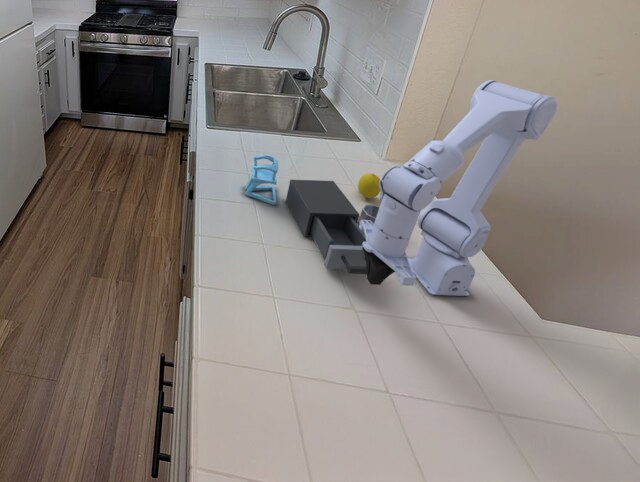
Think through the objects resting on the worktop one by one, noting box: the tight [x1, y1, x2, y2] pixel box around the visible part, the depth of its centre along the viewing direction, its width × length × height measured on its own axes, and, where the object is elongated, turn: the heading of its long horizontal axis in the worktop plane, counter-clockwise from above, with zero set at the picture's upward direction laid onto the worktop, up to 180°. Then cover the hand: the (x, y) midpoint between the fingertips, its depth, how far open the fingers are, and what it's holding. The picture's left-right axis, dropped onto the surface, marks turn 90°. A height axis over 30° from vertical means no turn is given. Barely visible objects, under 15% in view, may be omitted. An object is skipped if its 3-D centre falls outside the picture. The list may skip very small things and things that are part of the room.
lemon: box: [357, 173, 381, 199], centre depth 108 cm, size 6×6×8 cm
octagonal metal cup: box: [357, 204, 380, 225], centre depth 97 cm, size 6×6×5 cm
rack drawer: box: [309, 215, 367, 275], centre depth 87 cm, size 17×10×6 cm, turn 178°
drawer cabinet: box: [285, 179, 360, 239], centre depth 99 cm, size 14×12×8 cm
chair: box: [244, 154, 279, 206], centre depth 108 cm, size 8×8×12 cm
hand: (373, 281), depth 76 cm, fingers closed
